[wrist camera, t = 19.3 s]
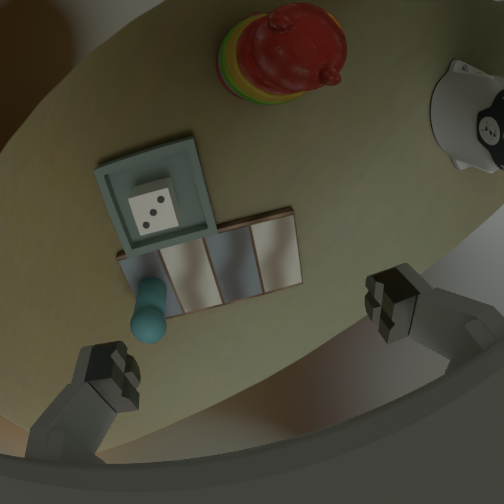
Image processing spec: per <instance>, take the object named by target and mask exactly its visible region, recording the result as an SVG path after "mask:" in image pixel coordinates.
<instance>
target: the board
mask: <svg viewBox="0 0 504 504" xmlns="http://www.w3.org/2000/svg"><path fill="white" fill-rule="evenodd" d="M217 230H218V234H216V235H212V236H208V237H204V238H200V239H197V240H193V241H189V242H185V243H182V244H178V245H174V246H171V247H167V248H163V249H160V250H156V251H152V252H149V253H145V254H141V255H138V256H134V257H131V258H127V256H126V254H125V251H123V252H119V253H117V256H116V259H117V261H118V263H119V266H120V268H121V270H122V272H123V274H124V276H125V278H126V280H127V282H128V284H129V286H130V289H131V291H132V293H133V295H134V297H135V299H136V298H137V293H138V288H139V284H140V282H141V281H142V280H143V279H145V278H147V277H156V278H159V279H161V280H162V281H163V282H164V283H165V284H166V287H167V297H166V313H165V319H169V318H173V317H177V316H182V315H186V314H190V313H194V312H198V311H202V310H206V309H210V308H214V307H218V306H222V305H226V304H230V303H234V302H238V301H242V300H245V299H249V298H253V297H257V296H261V295H264V294H268V293H272V292H275V291H279V290H283V289H286V288H290V287H293V286H297V285H300V284H303V279H302V271H301V262H300V254H299V246H298V238H297V230H296V222H295V215H294V210H293V209H292V207H289V208H285V209H281V210H277V211H273V212H268V213H264V214H260V215H256V216H252V217H248V218H244V219H240V220H236V221H233V222H229V223H225V224H221V225H217Z"/></svg>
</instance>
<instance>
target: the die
mask: <svg viewBox="0 0 504 504" xmlns="http://www.w3.org/2000/svg"><path fill="white" fill-rule="evenodd" d="M128 201H129V204H130V207H131V210H132V213H133V216H134V219H135V222H136V225H137V227H138V230H139V233H140V236H141V235H145V234H149V233H153V232H157V231H161V230H164V229H168V228H172V227H176V226H179V216H180V209H179V205H178V202H177V198H176V195H175V191H174V187H173V184H172V180H171V176H170V177H166V178H162V179H159V180H155V181H151V182H148V183H144V184H141V185H137V186H135V187H134V189H133V190H132V192H131V194H130V196H129V198H128Z"/></svg>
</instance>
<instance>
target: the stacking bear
mask: <svg viewBox="0 0 504 504" xmlns="http://www.w3.org/2000/svg"><path fill="white" fill-rule="evenodd" d="M346 55H347V44H346V38H345V35H344V33H343V30H342V27H341V25H340V23H339V22H338V21H337V20H336V18H335V17H334V16H333V15H331V14H330V13H329V12H327V11H326V10H323V9H322V8H320V7H317V6H315V5H312V4H308V3H291V4H287V5H283V6H281V7H279V8H277V9H275V10H273V11H271V12H270V13H268V14H264V13H255V14H252V15H250V16H248V17H247V18H245V19H244V20H242V21H241V22H239V23H238V24H236V25H235V26H234V27H233V28H232V29H231V30H230V31H229V32H228V33H227V34H226V36H225V38H224V39H223V41H222V43H221V46H220V49H219V52H218V55H217V59H216V70H217V74H218V77H219V79H220V81H221V83H222V84H223V86H224V87H225V88H226V89H227V90H228V91H229V92H230V93H232V94H233V95H235V96H237V97H238V98H241V99H244V100H247V101H250V102H253V103H257V104H263V105H275V104H282V103H286V102H289V101H291V100H294V99H296V98H298V97H299V96H301V95H303V94H304V93H306V92H307V91H311V90H315V89H317V88H320V87H322V86H324V85H330V86H332V85H336V84H339V83H340V82H341V77H340V75H339V72H340V70H341V69H342V67H343V65H344V63H345V60H346Z"/></svg>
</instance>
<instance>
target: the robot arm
mask: <svg viewBox="0 0 504 504" xmlns="http://www.w3.org/2000/svg"><path fill="white" fill-rule="evenodd" d="M431 122H432V128H433V132H434V135H435V137H436V140H437V142H438V144H439V145H440V147H441V148H442V149H443V150H444V151H445V152H446V153H447V154H448V155H449V156H450V157H451V158H452V161H453V163H454V165H455V167H456V168H457V169H460V170H464V169H466V168H468V167H470V166H473V167H475V168H478V169H481V170H483V171H486V172H489V173H493V172H494V171H497V170H499V169H502V170H504V77H501V76H497V75H489V74H487V73H485V72H483V71H481V70H479V69H477V68H475V67H473V66H471V65H469V64H467V63H465V62H463V61H460V60H456V59H454V60H453V61H452V62H451V64H450V67H449V70H448V72H447V74H446V75H445V76H444V77H443V78H442V79H441V80H440V81H439V83H438V84H437V86H436V88H435V91H434V94H433V97H432V102H431ZM365 286H366V288H367V289H368V290H369V291H368V292H367V294H366V295H365V308H366V312H367V314H368V317H369V318H370V320H371V321H372V322H373V323H375V324H378V325H379V329H378V332H379V333H380V334H381V336H382V337H383V339H384V340H385V342H386V343H387V344H390V343H393V342H395V341H398V340H400V339H402V338H405V337H408V336H409V338H411V339H413V340H414V341H416V342H418V343H420V344H422V345H424V346H425V347H427V348H429V349H431V350H433V351H435V352H436V353H438V354H440V355H442V356H444V357H446V358H447V359H449V360H450V362H449V364H448V367H447V369H446V372H445V374H444V375H443V376H441V377H439V378H437V379H435V380H434V381H432V382H430V383H428V384H426V385H424V386H422V387H420V388H418V389H416V390H414V391H412V392H410V393H408V394H406V395H404V396H402V397H400V398H398V399H395V400H393V401H391V402H389V403H387V404H384V405H382V406H380V407H377V408H375V409H373V410H371V411H368V412H366V413H363V414H361V415H358V416H355V417H353V418H350V419H347V420H345V421H342V422H339V423H337V424H334V425H331V426H328V427H325V428H322V429H319V430H316V431H313V432H309V433H306V434H303V435H299V436H296V437H293V438H289V439H286V440H282V441H278V442H274V443H270V444H266V445H262V446H258V447H253V448H249V449H244V450H240V451H234V452H229V453H223V454H218V455H212V456H206V457H199V458H191V459H183V460H174V461H164V462H151V463H133V464H106V463H105V462H104V461H103V460H101V459H100V458H99V457H97V456H96V455H94V454H95V452H96V451H97V449H98V447H99V445H100V443H101V442H102V440H103V438H104V436H105V435H106V433H107V431H108V429H109V428H110V426H111V424H112V422H113V421H114V419H115V417H116V416H117V413H121V412H128V411H135V410H139V395H140V394H139V392H138V391H137V390H136V388H137V387H138V385H139V384H140V379H141V375H140V370H139V366H138V364H137V362H136V360H135V359H134V357H133V356H131V355H129V354H127V349H128V348H127V347H126V345H125V344H124V342H123V341H115V342H108V343H102V344H96V345H92V346H85V347H83V348H81V349H80V353H79V356H78V360H77V363H76V367H75V371H74V375H73V379H72V383H71V384H67V386H66V387H65V388H64V389H63V390H62V391H61V393H60V394H59V395H58V396H57V397H56V398H55V399H54V401H53V402H52V403H51V404H50V405H49V407H48V408H47V409H46V410H45V411H44V412H43V414H42V415H41V416H40V417H39V418H38V420H37V421H36V422H35V423H34V424H33V426H32V427H31V429H30V434H29V438H28V443H27V448H26V453H25V458H22V457H15V456H10V455H5V454H0V504H504V317H503V316H502V315H501V314H500V313H499V312H498V311H497V310H496V309H495V308H494V307H493V306H491V305H488V304H485V303H482V302H479V301H476V300H473V299H470V298H467V297H464V296H461V295H458V294H455V293H452V292H449V291H446V290H443V289H439V288H435V289H433V288H432V287H431V286H430V285H429V284H428V283H427V282H426V281H425V280H424V279H423V278H422V277H421V276H420V275H419V274H418V273H417V272H416V271H415V270H414V269H413V268H412V267H411V266H410V265H409V264H407V263H403V264H400V265H397V266H395V267H393V268H390V269H387V270H384V271H381V272H378V273H375V274H372V275H369V276H367V278H366V284H365Z"/></svg>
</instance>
